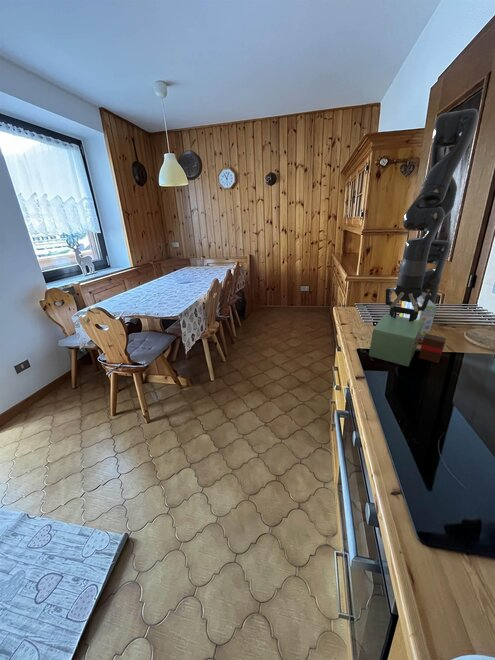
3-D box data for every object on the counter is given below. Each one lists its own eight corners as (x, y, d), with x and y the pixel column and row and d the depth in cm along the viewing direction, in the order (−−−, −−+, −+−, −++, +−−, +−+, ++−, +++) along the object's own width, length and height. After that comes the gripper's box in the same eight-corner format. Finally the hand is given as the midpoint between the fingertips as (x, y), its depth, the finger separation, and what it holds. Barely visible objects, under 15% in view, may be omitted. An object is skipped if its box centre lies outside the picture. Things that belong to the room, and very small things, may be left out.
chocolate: (420, 353, 100) (425, 333, 96) (440, 358, 96) (446, 337, 93) (418, 358, 97) (423, 337, 94) (438, 363, 94) (445, 342, 90)
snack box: (428, 344, 105) (438, 306, 98) (411, 343, 106) (420, 306, 100) (410, 320, 124) (418, 287, 117) (396, 320, 125) (403, 287, 118)
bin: (380, 339, 110) (384, 316, 106) (416, 348, 103) (422, 323, 99) (368, 355, 100) (372, 331, 96) (408, 366, 93) (414, 340, 89)
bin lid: (385, 315, 106) (387, 302, 104) (423, 322, 99) (426, 309, 97) (372, 331, 96) (374, 317, 93) (414, 340, 89) (418, 325, 86)
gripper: (439, 271, 92) (427, 319, 99) (391, 267, 100) (383, 311, 107) (435, 277, 87) (423, 326, 94) (385, 272, 95) (378, 317, 102)
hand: (402, 318), depth 101 cm, fingers closed on bin lid, 6 cm apart
